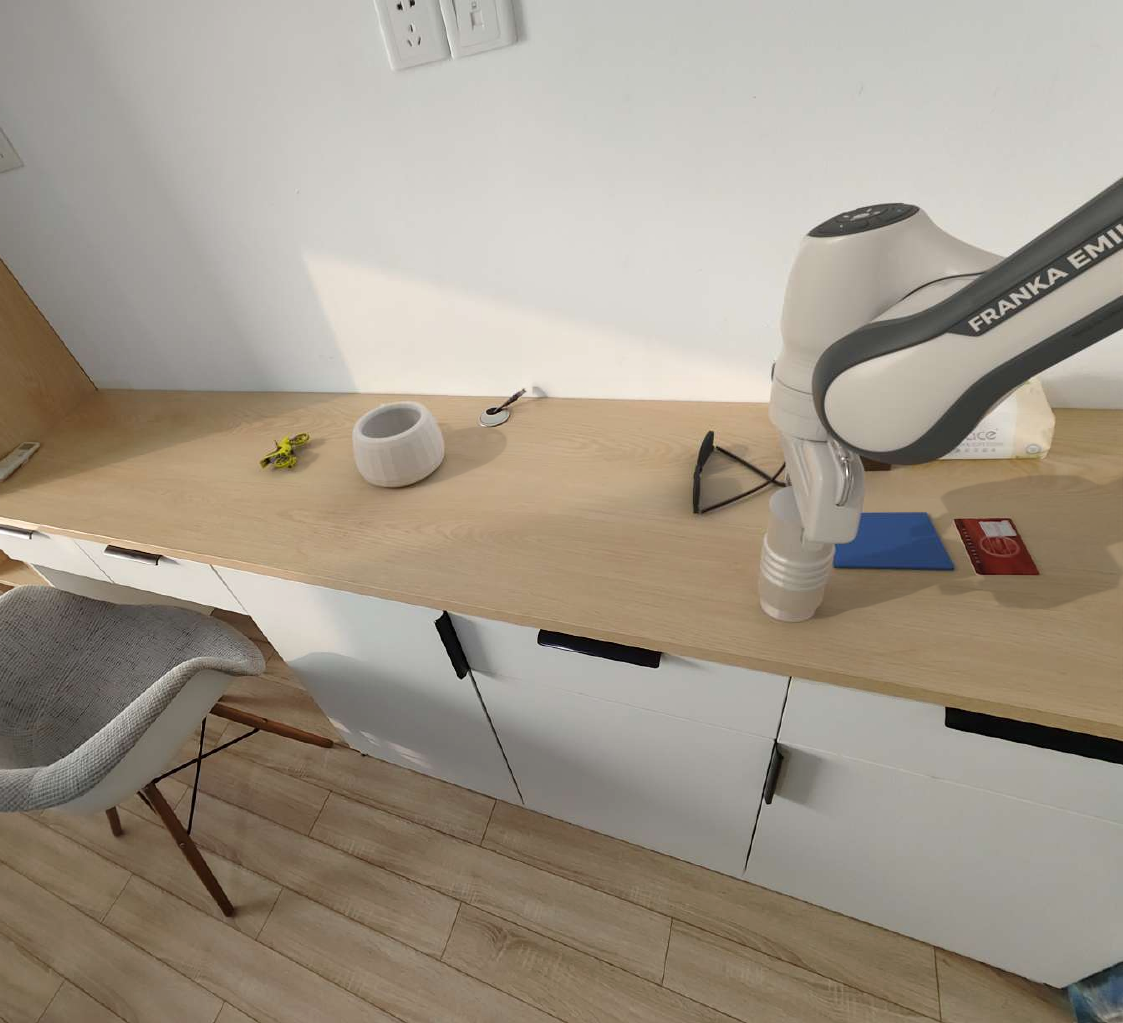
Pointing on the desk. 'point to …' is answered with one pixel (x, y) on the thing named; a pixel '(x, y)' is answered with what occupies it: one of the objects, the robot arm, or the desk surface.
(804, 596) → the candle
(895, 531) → the cloth
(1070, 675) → the desk surface
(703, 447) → the sunglasses
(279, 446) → the toy motorcycle
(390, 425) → the white plant pot
